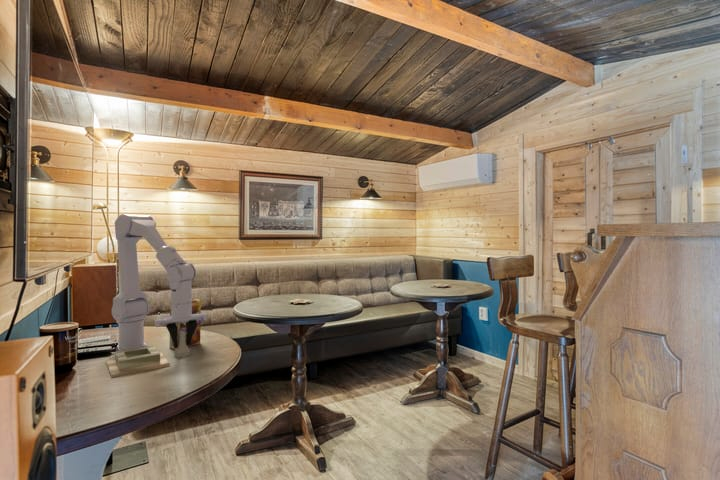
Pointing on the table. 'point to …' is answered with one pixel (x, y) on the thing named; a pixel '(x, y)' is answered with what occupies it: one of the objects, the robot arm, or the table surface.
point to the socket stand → (136, 361)
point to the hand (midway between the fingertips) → (181, 346)
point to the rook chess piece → (181, 345)
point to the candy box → (196, 335)
